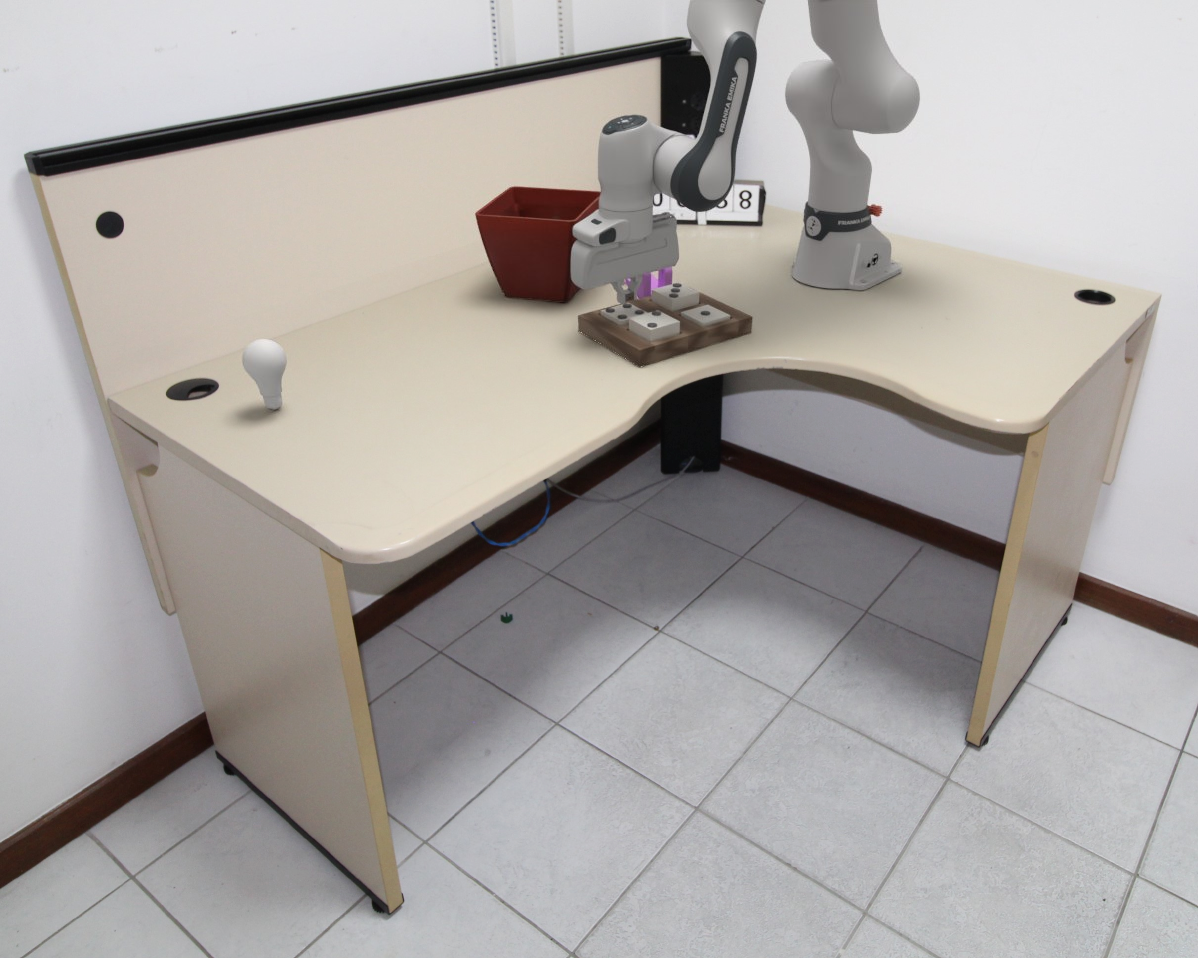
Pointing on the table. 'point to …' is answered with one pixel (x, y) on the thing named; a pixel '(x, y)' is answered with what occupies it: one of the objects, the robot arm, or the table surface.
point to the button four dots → (622, 313)
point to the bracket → (653, 282)
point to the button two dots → (654, 326)
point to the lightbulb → (266, 369)
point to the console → (665, 348)
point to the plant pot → (534, 239)
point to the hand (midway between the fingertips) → (626, 301)
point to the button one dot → (705, 315)
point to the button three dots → (675, 297)
